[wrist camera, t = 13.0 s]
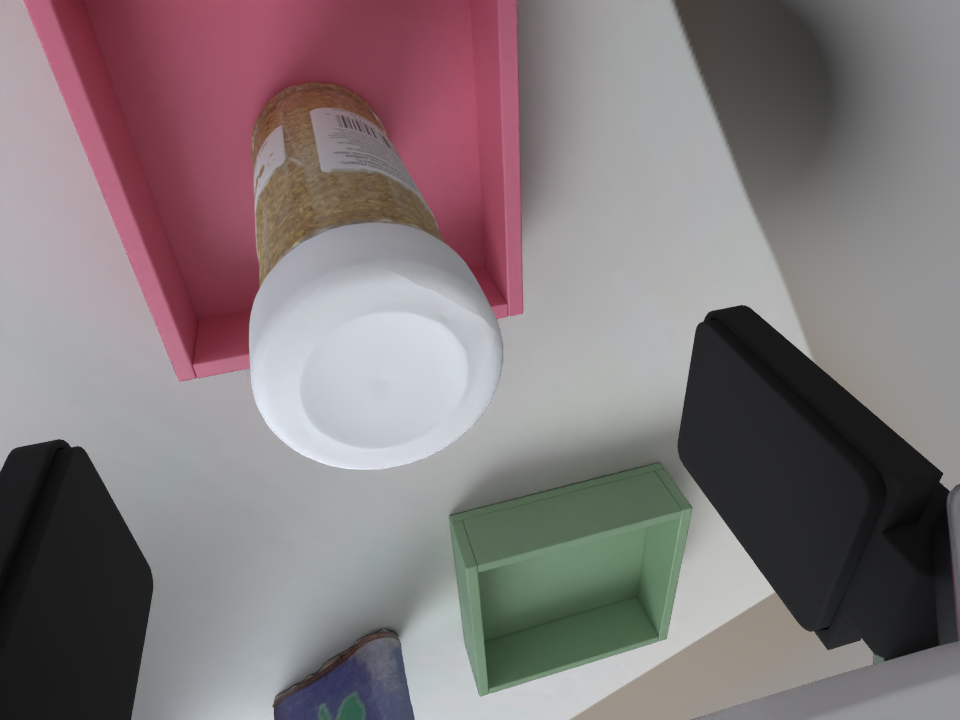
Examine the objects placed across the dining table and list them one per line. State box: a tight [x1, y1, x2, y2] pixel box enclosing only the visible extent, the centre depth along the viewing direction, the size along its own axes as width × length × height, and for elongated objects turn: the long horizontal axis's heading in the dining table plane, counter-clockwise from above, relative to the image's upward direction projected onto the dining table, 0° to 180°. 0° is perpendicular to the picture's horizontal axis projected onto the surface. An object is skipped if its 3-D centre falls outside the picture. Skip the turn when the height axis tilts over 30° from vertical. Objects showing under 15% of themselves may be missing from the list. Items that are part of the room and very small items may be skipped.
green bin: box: [449, 463, 692, 696], centre depth 38 cm, size 12×12×4 cm
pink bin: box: [24, 0, 523, 381], centre depth 21 cm, size 12×12×4 cm
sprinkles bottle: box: [249, 82, 503, 470], centre depth 17 cm, size 5×5×13 cm
